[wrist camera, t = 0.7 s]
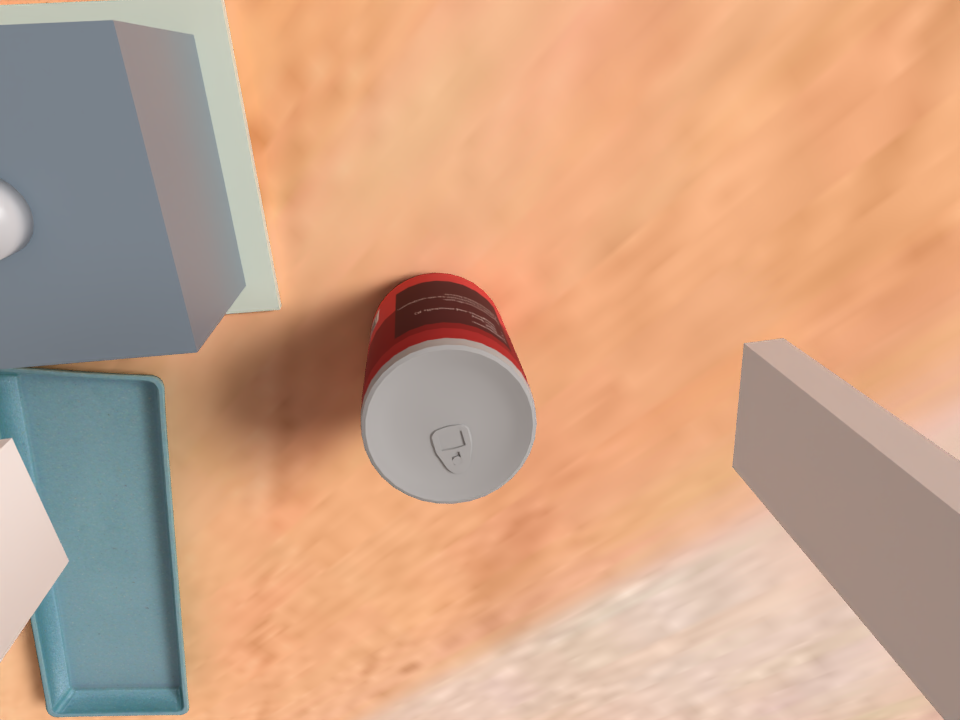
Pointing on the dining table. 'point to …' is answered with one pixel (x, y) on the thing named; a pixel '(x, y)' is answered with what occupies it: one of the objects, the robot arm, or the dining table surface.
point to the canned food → (444, 393)
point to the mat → (201, 12)
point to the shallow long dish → (102, 539)
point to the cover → (108, 196)
